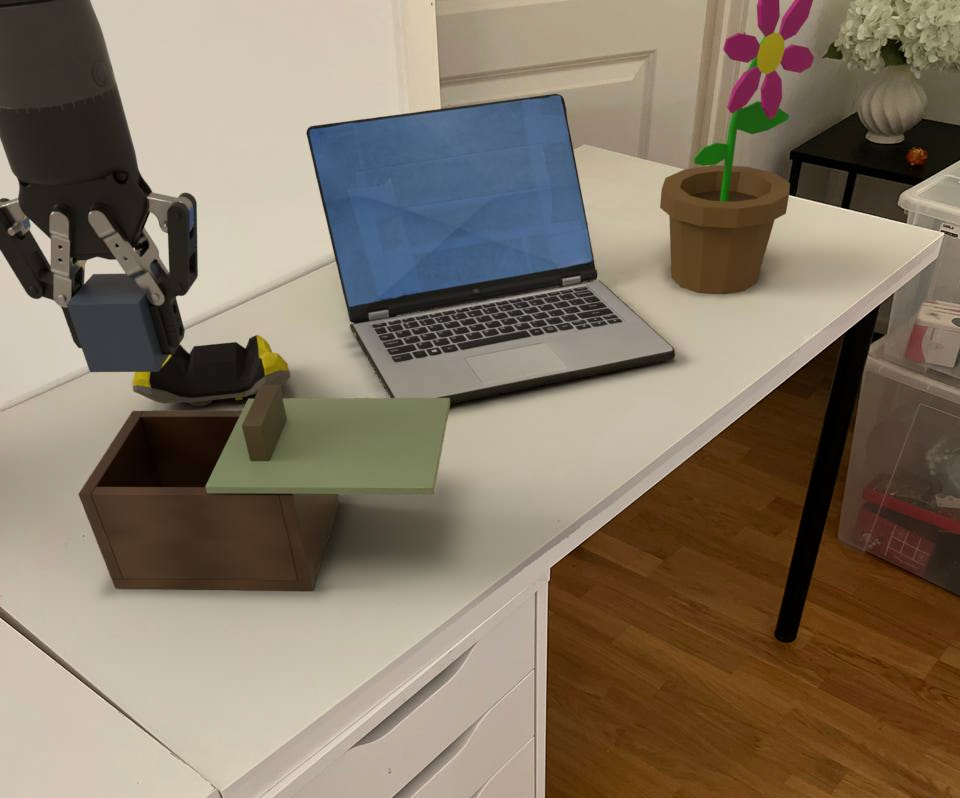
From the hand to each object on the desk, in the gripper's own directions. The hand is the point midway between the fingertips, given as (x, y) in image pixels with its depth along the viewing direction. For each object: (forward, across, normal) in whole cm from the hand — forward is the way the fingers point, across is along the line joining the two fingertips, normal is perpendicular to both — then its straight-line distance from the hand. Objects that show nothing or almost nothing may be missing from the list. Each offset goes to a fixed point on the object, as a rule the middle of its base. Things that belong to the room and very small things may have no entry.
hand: (133, 349), depth 69 cm
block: (0, 0, 0) cm, 0 cm away
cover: (+8, -14, 0) cm, 16 cm away
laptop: (+17, -23, -40) cm, 49 cm away
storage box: (+17, -3, 0) cm, 18 cm away
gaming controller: (+17, +4, -24) cm, 30 cm away
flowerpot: (+18, -49, -53) cm, 74 cm away
